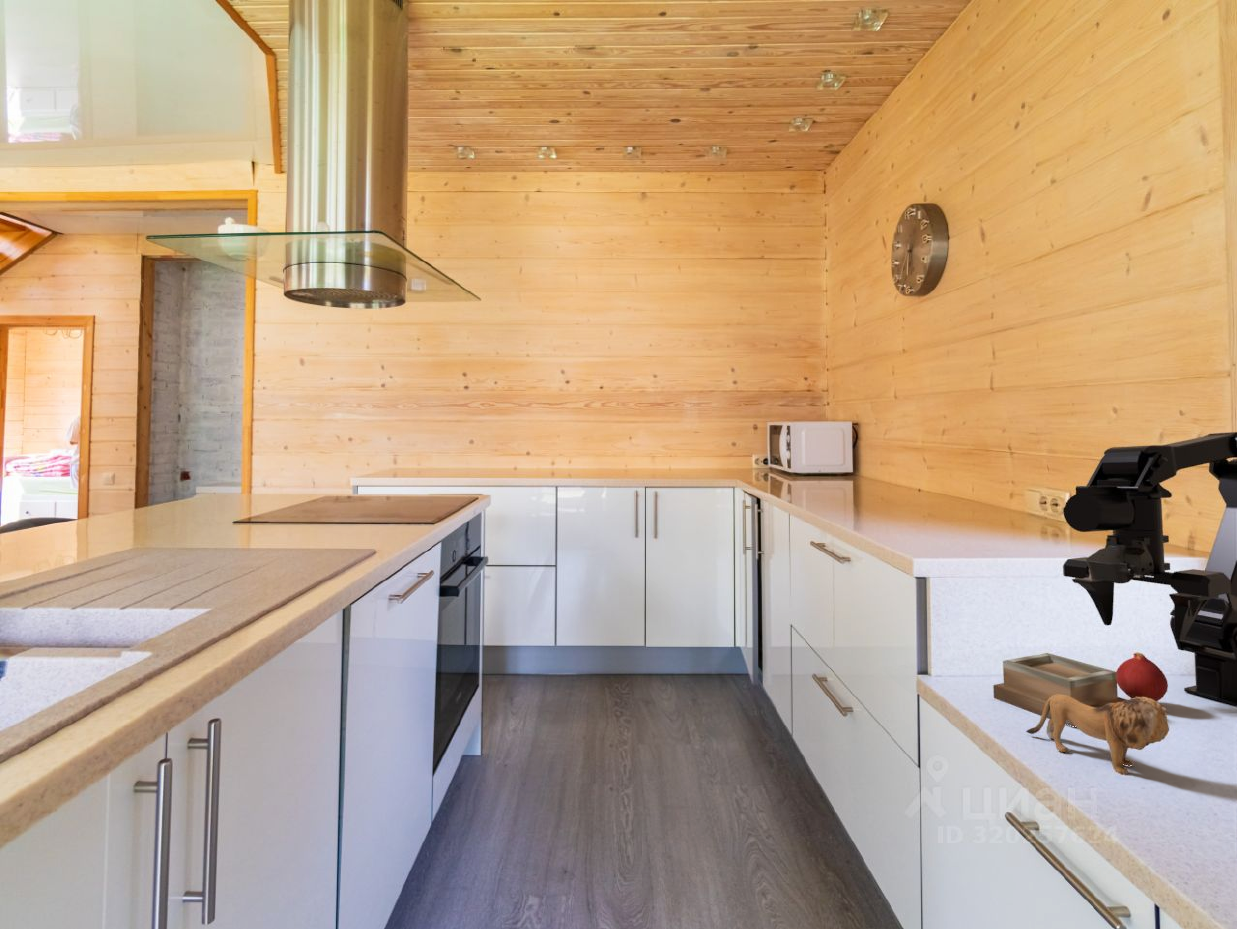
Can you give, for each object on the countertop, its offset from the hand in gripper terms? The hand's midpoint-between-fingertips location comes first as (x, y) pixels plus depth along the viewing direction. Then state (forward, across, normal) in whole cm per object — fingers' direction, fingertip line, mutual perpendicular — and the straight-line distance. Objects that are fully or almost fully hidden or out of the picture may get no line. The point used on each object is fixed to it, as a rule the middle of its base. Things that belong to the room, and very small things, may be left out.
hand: (1142, 632), depth 88 cm
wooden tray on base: (+11, -5, -11) cm, 17 cm away
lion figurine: (+11, +8, -23) cm, 27 cm away
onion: (+11, 0, 0) cm, 11 cm away
